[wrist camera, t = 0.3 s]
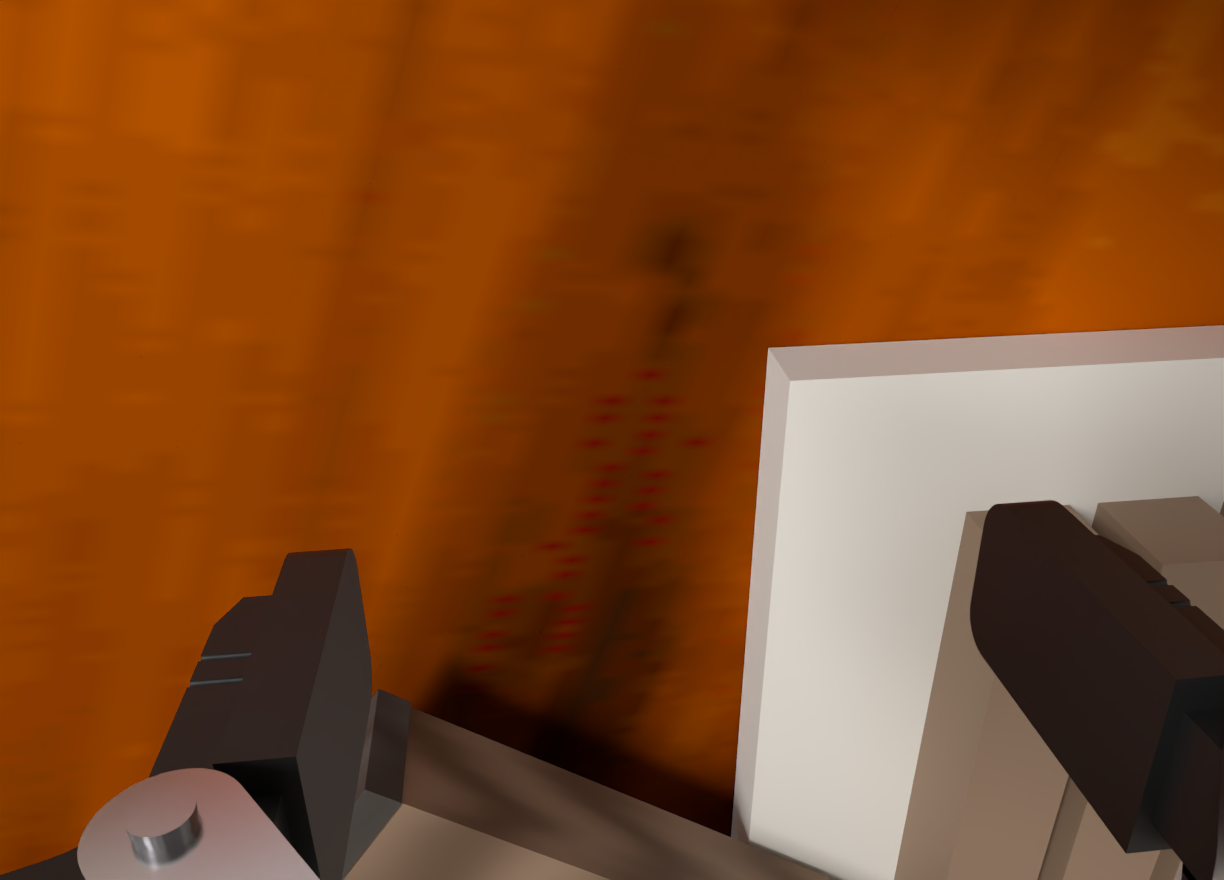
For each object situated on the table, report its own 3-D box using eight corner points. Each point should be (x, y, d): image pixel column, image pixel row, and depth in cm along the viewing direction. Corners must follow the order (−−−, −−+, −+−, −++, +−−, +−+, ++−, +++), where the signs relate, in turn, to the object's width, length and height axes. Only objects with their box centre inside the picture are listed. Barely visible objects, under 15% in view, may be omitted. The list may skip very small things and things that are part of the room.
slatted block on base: (768, 347, 31) (826, 436, 25) (1324, 319, 33) (1486, 397, 27) (726, 894, 43) (760, 1030, 38) (1132, 851, 45) (1218, 975, 40)
